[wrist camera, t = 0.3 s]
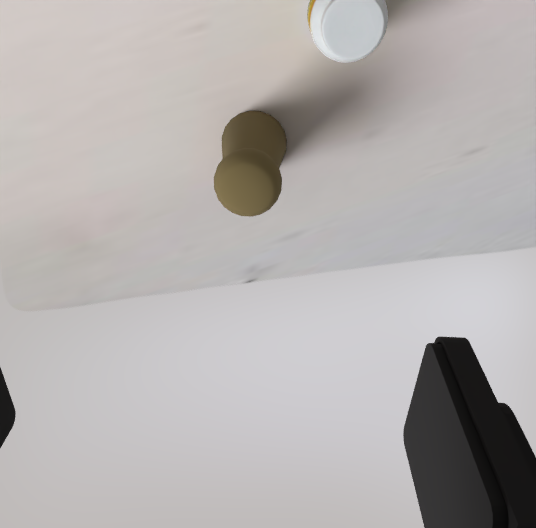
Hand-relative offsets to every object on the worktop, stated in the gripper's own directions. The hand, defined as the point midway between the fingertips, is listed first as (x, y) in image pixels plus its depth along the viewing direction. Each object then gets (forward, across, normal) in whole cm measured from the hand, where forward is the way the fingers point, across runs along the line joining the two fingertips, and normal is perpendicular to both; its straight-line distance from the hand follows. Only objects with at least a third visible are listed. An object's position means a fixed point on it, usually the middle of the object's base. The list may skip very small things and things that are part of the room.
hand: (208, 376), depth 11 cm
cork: (+37, +1, +7) cm, 38 cm away
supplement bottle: (+37, -6, -4) cm, 38 cm away
